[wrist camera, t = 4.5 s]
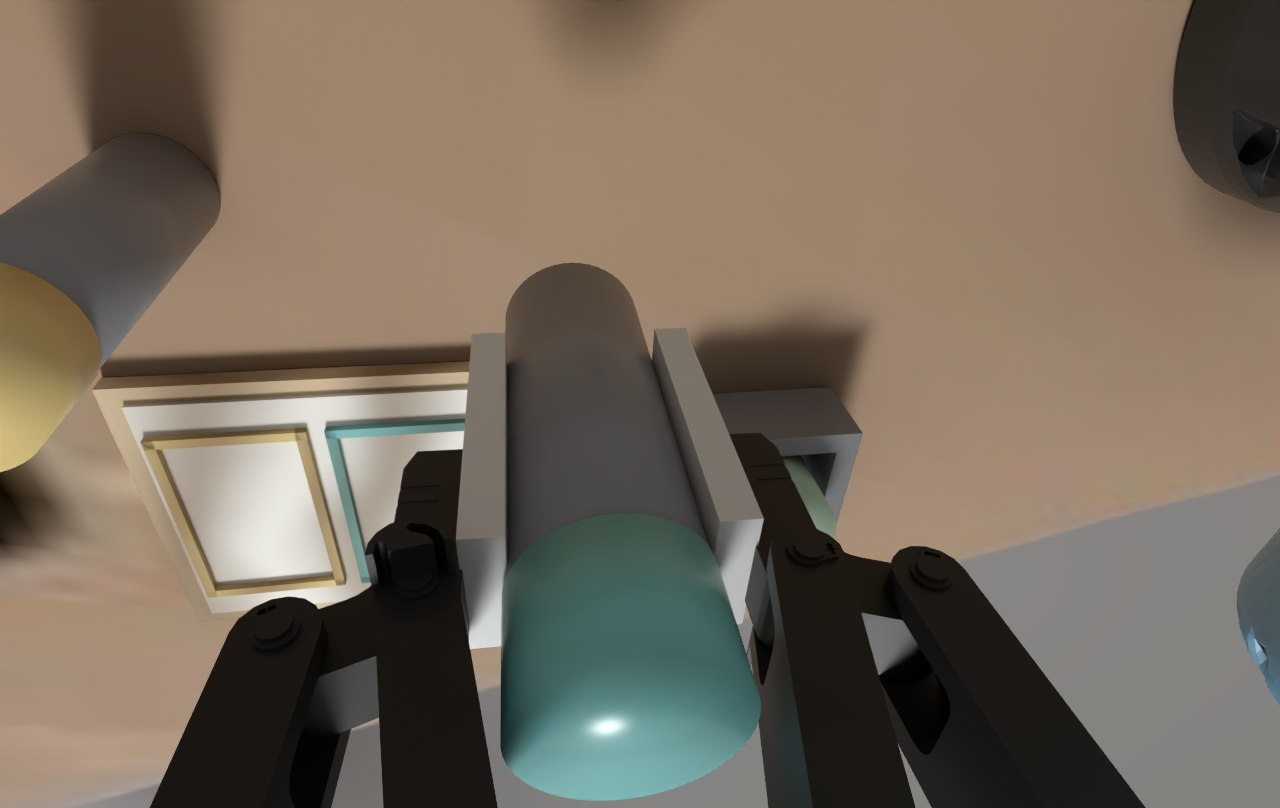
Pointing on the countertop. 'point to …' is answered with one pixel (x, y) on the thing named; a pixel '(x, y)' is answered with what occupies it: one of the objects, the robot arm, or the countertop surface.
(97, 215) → the ochre marker
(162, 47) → the countertop surface
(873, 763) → the robot arm
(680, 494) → the teal marker
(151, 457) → the double window tray
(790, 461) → the button
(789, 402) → the button housing
